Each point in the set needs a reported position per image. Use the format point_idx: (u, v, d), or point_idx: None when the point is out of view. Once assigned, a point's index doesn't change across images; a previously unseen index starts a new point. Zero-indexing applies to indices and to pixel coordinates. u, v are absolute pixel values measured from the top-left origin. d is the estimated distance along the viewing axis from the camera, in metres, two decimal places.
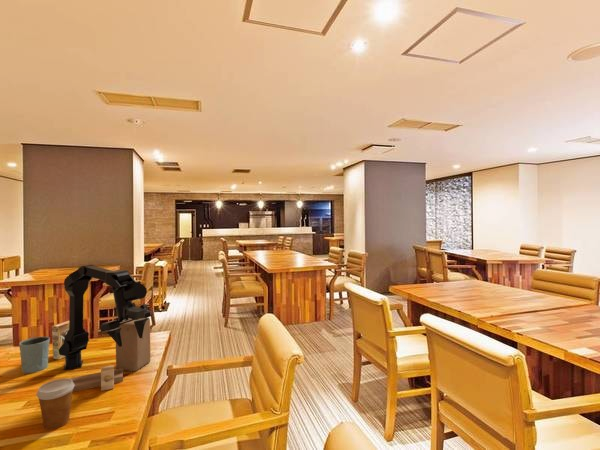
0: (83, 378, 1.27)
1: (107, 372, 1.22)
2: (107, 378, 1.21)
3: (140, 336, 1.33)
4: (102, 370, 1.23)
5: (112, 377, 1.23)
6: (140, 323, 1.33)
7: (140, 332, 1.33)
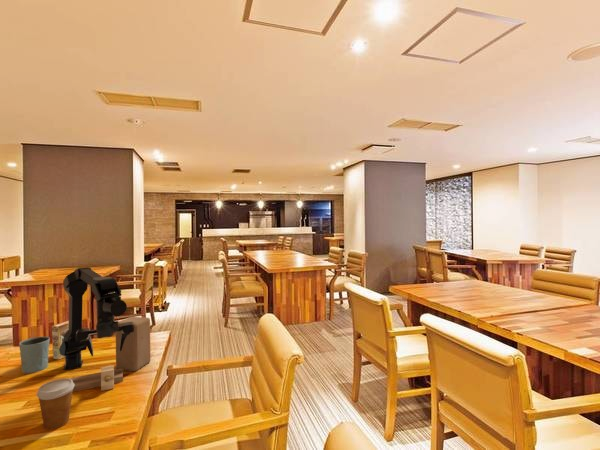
0: (83, 378, 1.27)
1: (107, 372, 1.22)
2: (107, 378, 1.21)
3: (120, 349, 1.26)
4: (102, 370, 1.23)
5: (112, 377, 1.23)
6: (121, 336, 1.26)
7: (120, 345, 1.26)
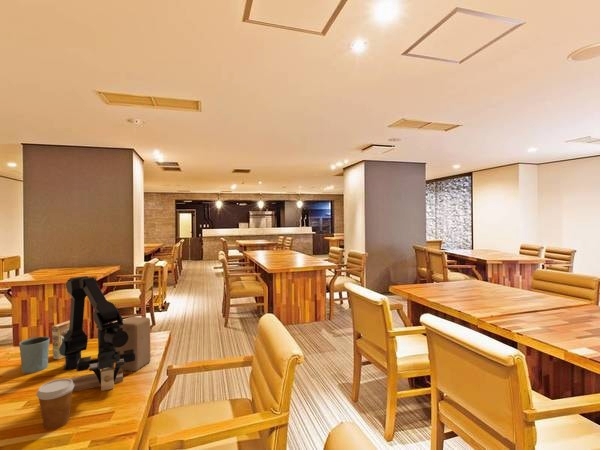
0: (83, 378, 1.27)
1: (107, 372, 1.22)
2: (107, 378, 1.21)
3: None
4: (102, 370, 1.23)
5: (112, 377, 1.23)
6: (115, 366, 1.25)
7: (114, 375, 1.25)
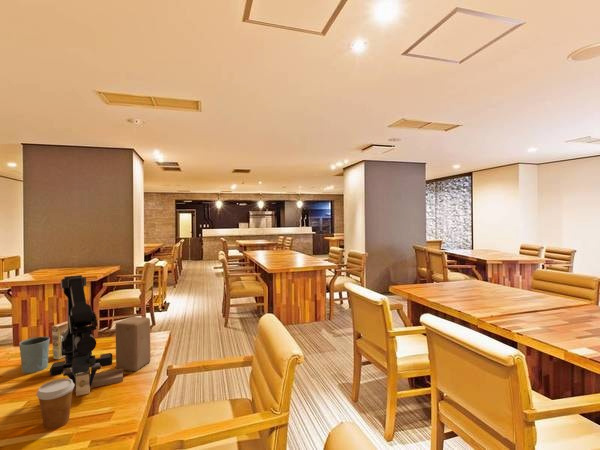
0: None
1: (82, 377, 1.19)
2: (82, 383, 1.18)
3: None
4: (77, 375, 1.19)
5: (88, 382, 1.19)
6: (91, 370, 1.21)
7: None
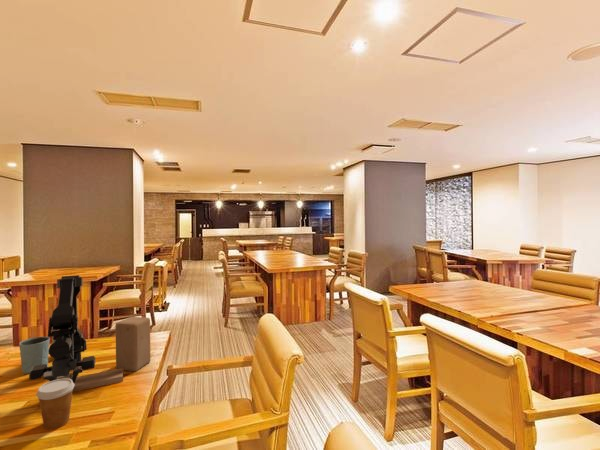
0: (83, 378, 1.27)
1: None
2: None
3: None
4: (58, 378, 1.16)
5: None
6: None
7: None
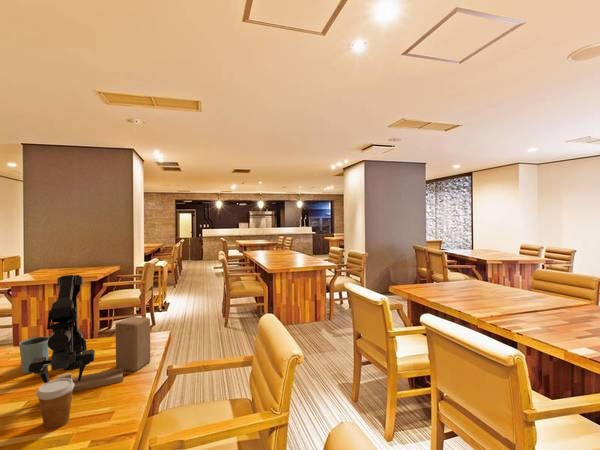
0: (83, 378, 1.27)
1: None
2: None
3: None
4: (58, 378, 1.16)
5: None
6: (80, 366, 1.19)
7: None
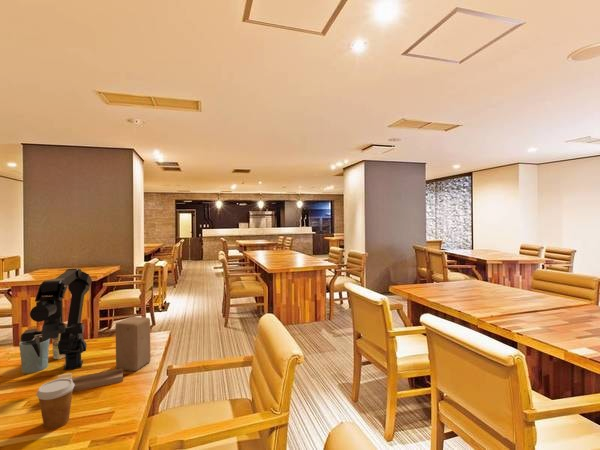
0: (83, 378, 1.27)
1: None
2: None
3: (68, 350, 1.28)
4: (58, 378, 1.16)
5: None
6: None
7: None
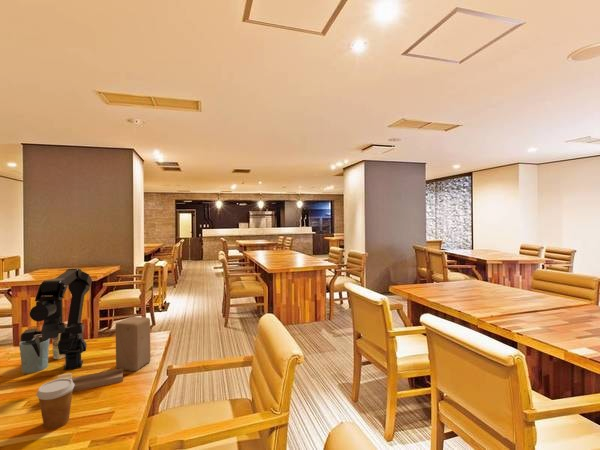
0: (83, 378, 1.27)
1: None
2: None
3: (68, 350, 1.28)
4: (58, 378, 1.16)
5: None
6: (69, 337, 1.27)
7: (68, 346, 1.28)
